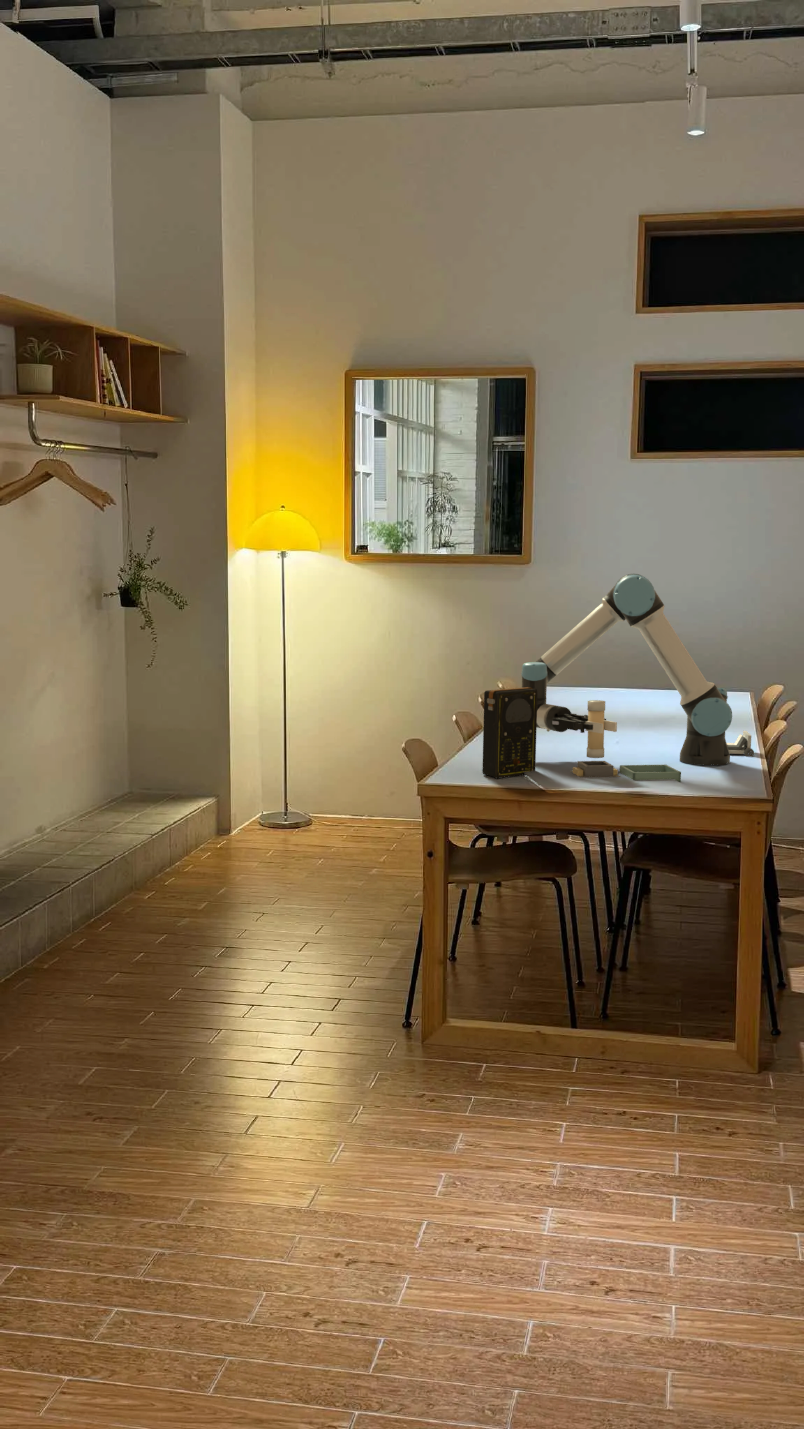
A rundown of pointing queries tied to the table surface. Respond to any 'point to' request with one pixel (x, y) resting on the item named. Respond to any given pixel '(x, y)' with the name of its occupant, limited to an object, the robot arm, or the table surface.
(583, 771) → the fuse holder
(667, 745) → the table surface
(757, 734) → the table surface
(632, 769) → the tray
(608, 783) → the table surface
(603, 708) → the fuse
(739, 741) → the phone holder
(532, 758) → the voltmeter
